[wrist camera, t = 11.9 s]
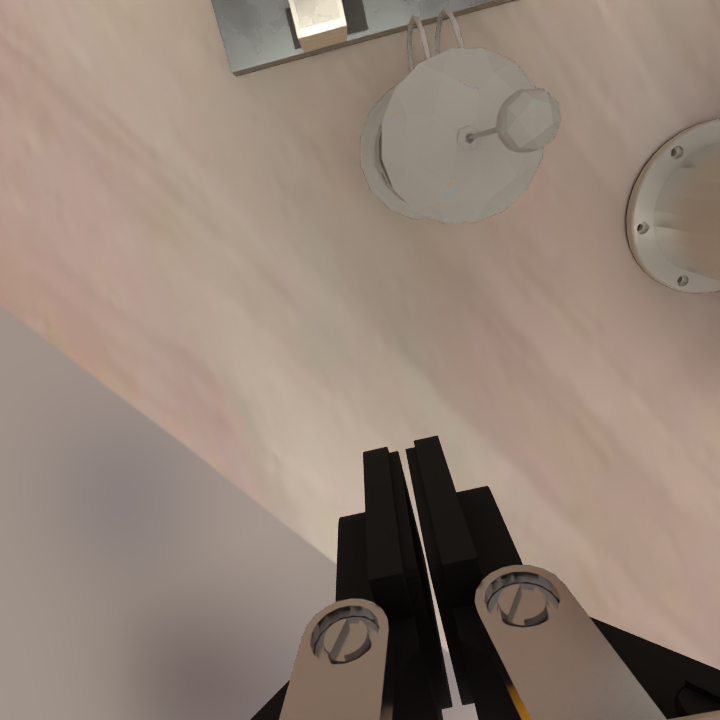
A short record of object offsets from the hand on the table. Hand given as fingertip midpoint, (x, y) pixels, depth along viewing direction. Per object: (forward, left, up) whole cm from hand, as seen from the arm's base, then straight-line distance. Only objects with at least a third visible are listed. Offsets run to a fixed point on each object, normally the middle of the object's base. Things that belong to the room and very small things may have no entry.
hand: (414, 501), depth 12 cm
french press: (-6, -8, -32) cm, 34 cm away
